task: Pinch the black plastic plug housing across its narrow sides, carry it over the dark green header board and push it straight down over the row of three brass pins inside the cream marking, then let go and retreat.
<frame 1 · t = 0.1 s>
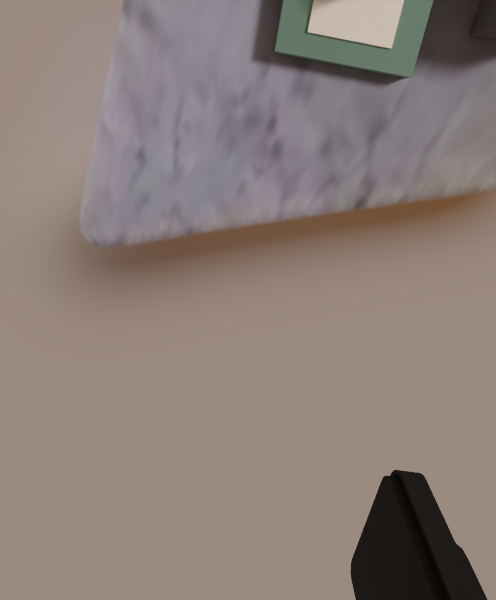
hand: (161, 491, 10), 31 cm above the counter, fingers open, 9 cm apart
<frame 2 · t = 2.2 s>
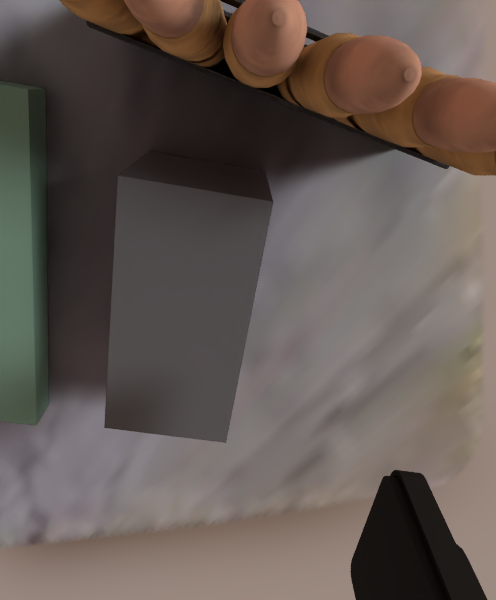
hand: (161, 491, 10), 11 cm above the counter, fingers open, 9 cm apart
ammunition clip: (277, 69, 17), on the counter
plug housing: (193, 270, 20), on the counter
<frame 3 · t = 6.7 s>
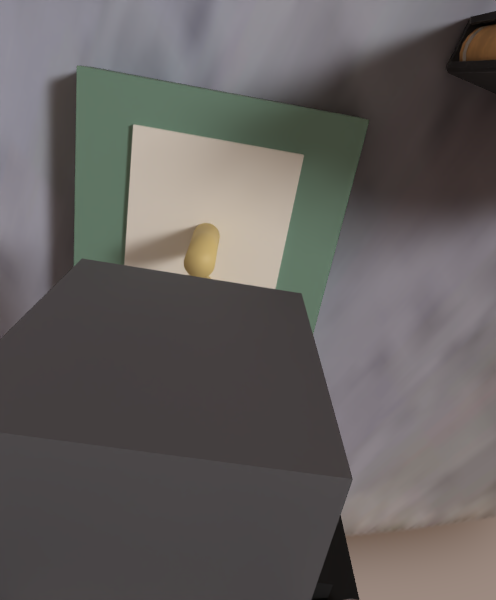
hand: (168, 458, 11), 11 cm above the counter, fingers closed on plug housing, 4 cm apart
header board: (203, 268, 20), on the counter
plug housing: (170, 451, 11), point 10 cm above the counter, touching gripper
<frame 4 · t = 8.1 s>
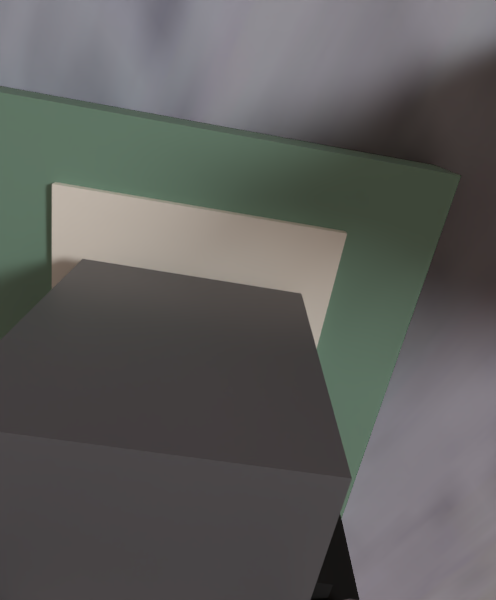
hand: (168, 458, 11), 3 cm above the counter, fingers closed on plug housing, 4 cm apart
header board: (182, 386, 13), on the counter
plug housing: (170, 451, 11), point 2 cm above the counter, touching gripper
when the fingers open (3 cm above the counter, at t = 9.1 s): plug housing stays where it is, resting on header board.
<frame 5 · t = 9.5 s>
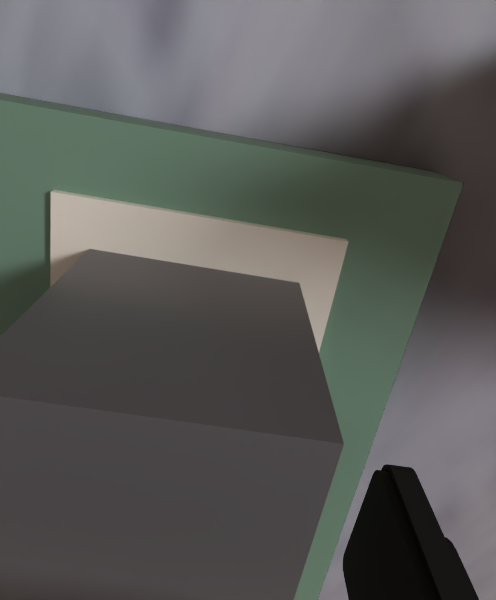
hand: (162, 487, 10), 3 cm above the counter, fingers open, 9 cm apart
header board: (182, 394, 13), on the counter
plug housing: (173, 435, 12), point 2 cm above the counter, touching header board
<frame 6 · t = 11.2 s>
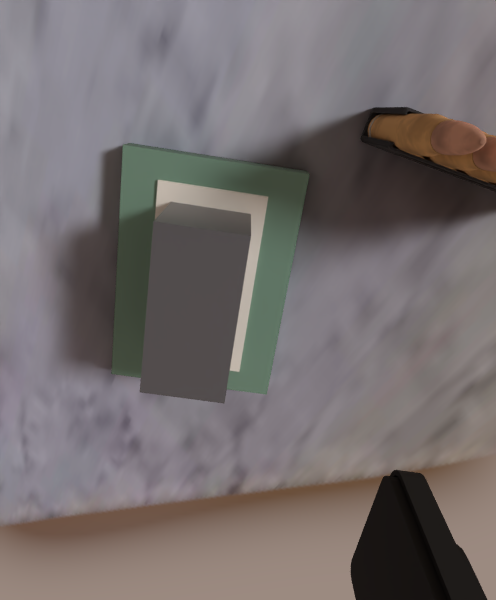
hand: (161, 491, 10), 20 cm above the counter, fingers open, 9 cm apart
header board: (204, 274, 29), on the counter
ammunition clip: (451, 156, 26), on the counter
plug housing: (201, 284, 27), point 2 cm above the counter, touching header board
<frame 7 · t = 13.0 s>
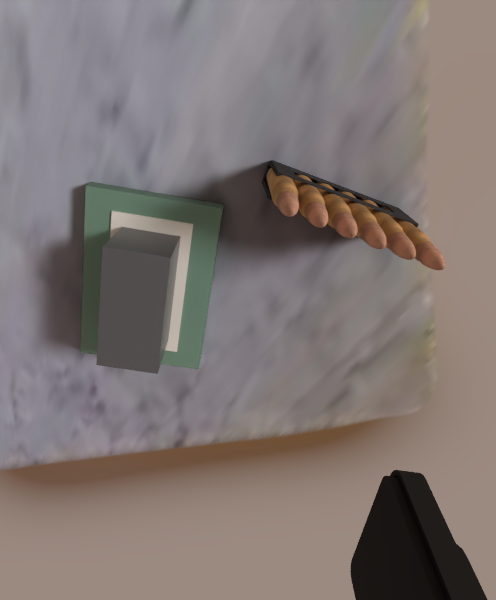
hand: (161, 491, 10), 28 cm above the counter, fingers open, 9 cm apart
header board: (150, 278, 38), on the counter
ammunition clip: (331, 195, 36), on the counter
plug housing: (146, 286, 37), point 2 cm above the counter, touching header board
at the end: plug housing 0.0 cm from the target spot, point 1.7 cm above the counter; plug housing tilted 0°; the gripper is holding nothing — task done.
